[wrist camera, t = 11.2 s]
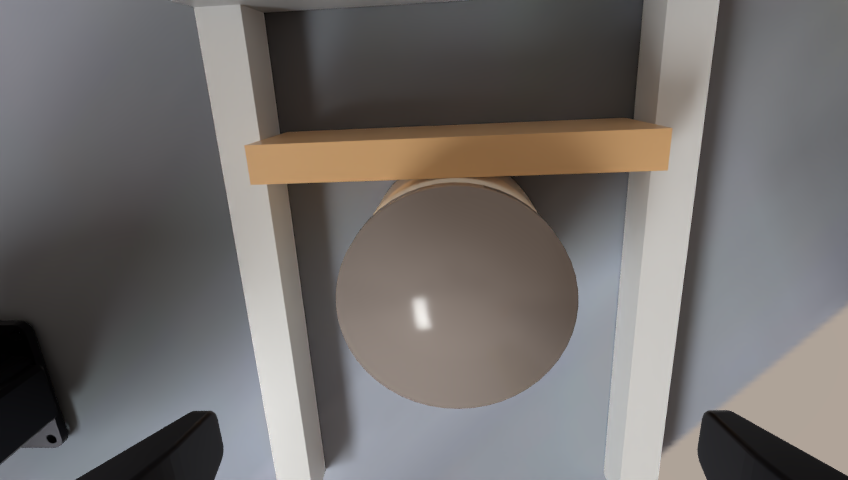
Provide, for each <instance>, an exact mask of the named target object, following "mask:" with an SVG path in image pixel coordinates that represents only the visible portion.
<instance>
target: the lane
mask: <svg viewBox="0 0 848 480" xmlns="http://www.w3.org/2000/svg"><path fill="white" fill-rule="evenodd" d="M170 1H173V2H177V3H180V4H184V5H188V6H191V7H194V12H195V17H196V23H197V29H198V34H199V40H200V46H201V51H202V57H203V63H204V68H205V74H206V80H207V86H208V91H209V97H210V103H211V108H212V114H213V120H214V125H215V131H216V137H217V142H218V148H219V154H220V159H221V165H222V171H223V177H224V182H225V188H226V194H227V199H228V205H229V211H230V216H231V222H232V228H233V233H234V239H235V245H236V250H237V256H238V262H239V268H240V273H241V279H242V285H243V290H244V296H245V302H246V307H247V313H248V319H249V324H250V330H251V336H252V341H253V347H254V353H255V359H256V364H257V370H258V376H259V381H260V387H261V393H262V398H263V404H264V410H265V415H266V421H267V427H268V432H269V438H270V444H271V449H272V455H273V461H274V467H275V472H276V478H277V480H323V477H324V474H325V471H326V468H325V460H324V453H323V446H322V438H321V431H320V423H319V416H318V409H317V401H316V394H315V387H314V379H313V372H312V365H311V357H310V350H309V342H308V335H307V328H306V320H305V313H304V306H303V298H302V291H301V283H300V276H299V269H298V261H297V254H296V247H295V239H294V232H293V224H292V217H291V210H290V202H289V195H288V188H287V184H263V185H251V184H250V178H249V172H248V165H247V159H246V153H245V147H244V145H247V144H251V143H254V142H257V141H260V140H263V139H267V138H270V137H273V136H276V135H279V134H280V129H279V121H278V114H277V106H276V99H275V92H274V84H273V77H272V70H271V62H270V55H269V47H268V40H267V33H266V25H265V18H264V13H268V12H284V11H301V10H318V9H334V8H351V7H367V6H384V5H401V4H417V3H434V2H450V1H467V0H170ZM719 2H720V0H644V3H643V14H642V26H641V38H640V50H639V61H638V73H637V85H636V97H635V109H634V120H638V121H643V122H647V123H652V124H656V125H661V126H665V127H670V128H672V138H671V147H670V156H669V165H668V171H639V172H629V179H628V191H627V203H626V215H625V226H624V238H623V250H622V262H621V273H620V285H619V297H618V309H617V321H616V332H615V344H614V356H613V368H612V379H611V391H610V403H609V415H608V427H607V438H606V450H605V462H604V474H605V477H606V480H658V475H659V467H660V460H661V452H662V444H663V437H664V429H665V421H666V413H667V406H668V398H669V390H670V382H671V375H672V367H673V359H674V351H675V344H676V336H677V328H678V320H679V312H680V305H681V297H682V289H683V281H684V274H685V266H686V258H687V250H688V243H689V235H690V227H691V219H692V212H693V204H694V196H695V188H696V181H697V173H698V165H699V157H700V150H701V142H702V134H703V126H704V118H705V111H706V103H707V95H708V87H709V80H710V72H711V64H712V56H713V49H714V41H715V33H716V25H717V18H718V10H719Z"/></svg>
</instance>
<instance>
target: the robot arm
mask: <svg viewBox="0 0 848 480" xmlns="http://www.w3.org/2000/svg"><path fill="white" fill-rule="evenodd" d="M19 332H20V333H19ZM67 438H68V432H67V429H66V426H65V423H64V420H63V417H62V414H61V411H60V408H59V405H58V402H57V399H56V396H55V393H54V390H53V386H52V383H51V380H50V377H49V374H48V371H47V368H46V365H45V362H44V359H43V356H42V353H41V350H40V347H39V344H38V341H37V338H36V335H35V332H34V330H33V328H32V326H31V325H29V324H28V323H26V322H24V321H0V465H1V464H2V463H3V462H4V461H5V460H7V459H8V458H9V457H10V456H11V455H13V454H14V453H15V452H16V451H17V450H18V449H20V448H56V447H59V446H60V445H62V444H63V443H64V442H65V441H66V440H67ZM222 457H223V442H222V437H221V433H220V428H219V423H218V419H217V416H216V414H215V413H214V412H212V411H192V412H190V413H188V414H186V415H185V416H183V417H181V418H180V419H178V420H176V421H174V422H173V423H171V424H169V425H168V426H166V427H164V428H163V429H161V430H159V431H157V432H156V433H154V434H152V435H151V436H149V437H147V438H146V439H144V440H142V441H140V442H139V443H137V444H135V445H134V446H132V447H130V448H129V449H127V450H125V451H123V452H122V453H120V454H118V455H117V456H115V457H113V458H112V459H110V460H108V461H106V462H105V463H103V464H101V465H100V466H98V467H96V468H94V469H93V470H91V471H89V472H88V473H86V474H84V475H83V476H81V477H79V478H77V479H76V480H214V479H215V476H216V474H217V471H218V468H219V466H220V463H221V460H222ZM698 458H699V461H700V464H701V466H702V469H703V471H704V474H705V476H706V479H707V480H848V476H847V475H845V474H843V473H841V472H839V471H838V470H836V469H834V468H832V467H831V466H829V465H827V464H825V463H823V462H822V461H820V460H818V459H816V458H814V457H813V456H811V455H809V454H807V453H805V452H804V451H802V450H800V449H798V448H797V447H795V446H793V445H791V444H789V443H788V442H786V441H783V440H782V439H780V438H778V437H777V436H775V435H773V434H771V433H769V432H767V431H766V430H764V429H762V428H760V427H759V426H757V425H755V424H753V423H752V422H750V421H748V420H746V419H745V418H743V417H741V416H739V415H737V414H735V413H734V412H732V411H727V410H709V411H707V412H705V413H704V415H703V418H702V423H701V429H700V437H699V443H698Z"/></svg>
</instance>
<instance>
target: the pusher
mask: <svg viewBox="0 0 848 480" xmlns="http://www.w3.org/2000/svg"><path fill="white" fill-rule="evenodd" d="M671 138H672V128H670V127H665V126H661V125H656V124H652V123H647V122H643V121H638V120H634V119H629V118H604V119H580V120H557V121H533V122H509V123H486V124H462V125H439V126H415V127H391V128H368V129H344V130H320V131H297V132H286V133H283V134H279V135H276V136H273V137H270V138H267V139H263V140H260V141H257V142H254V143H251V144H247V145H244V147H245V153H246V159H247V165H248V172H249V178H250V184H251V185H263V184H292V183H321V182H350V181H379V180H408V179H436V178H465V177H494V176H523V175H552V174H581V173H610V172H639V171H668V165H669V156H670V147H671Z"/></svg>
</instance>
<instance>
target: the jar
mask: <svg viewBox="0 0 848 480" xmlns="http://www.w3.org/2000/svg"><path fill="white" fill-rule="evenodd" d="M336 310H337V316H338V321H339V325H340V328H341V331H342V334H343V337H344V339H345V341H346V343H347V345H348V347H349V349H350V350H351V352H352V354H353V355H354V357H355V358H356V360H357V361H358V362H359V363H360V364H361V366H362V367H363V368H364V369H365V370H366V371H367V372H368V373H369V374H370V375H371V376H372V377H373V378H374V379H376V380H377V381H378V382H379V383H381V384H382V385H384V386H385V387H386V388H388V389H389V390H391V391H393V392H395V393H397V394H398V395H400V396H402V397H405V398H407V399H410V400H412V401H415V402H418V403H422V404H425V405H429V406H435V407H441V408H454V409H462V408H475V407H481V406H487V405H491V404H494V403H498V402H501V401H504V400H506V399H508V398H511V397H513V396H515V395H517V394H519V393H521V392H523V391H524V390H526V389H528V388H529V387H531V386H532V385H533V384H535V383H536V382H537V381H539V380H540V379H541V378H542V377H543V376H544V375H545V374H546V373H547V372H548V371H549V370H550V369H551V368H552V367H553V366H554V364H555V363H556V362H557V361H558V360H559V358H560V357H561V355H562V353H563V352H564V350H565V348H566V347H567V345H568V342H569V340H570V338H571V336H572V333H573V330H574V326H575V323H576V319H577V311H578V287H577V281H576V275H575V272H574V269H573V266H572V263H571V260H570V258H569V256H568V254H567V252H566V250H565V248H564V246H563V245H562V243H561V242H560V240H559V239H558V237H557V236H556V234H555V233H554V231H553V230H552V229H551V227H550V226H549V225H548V223H547V222H546V221H545V220H544V219H543V218H542V217H541V216H540V215H539V214H538V212H537V211H536V209H535V207H534V206H533V204H532V203H531V201H530V200H529V198H528V196H527V195H526V194H525V192H524V191H523V189H522V188H521V187H520V186H519V185H518V184H517V183H516V181H515V180H513V179H512V178H511V177H510V176H494V177H465V178H436V179H408V180H397V181H396V182H395V183H394V184H393V185H392V186H391V188H390V189H389V190H388V191H387V193H386V194H385V196H384V197H383V199H382V201H381V202H380V204H379V206H378V207H377V209H376V211H375V212H374V214H373V216H372V217H371V218H370V219H368V221H367V222H366V223H365V224H364V226H363V227H362V228H361V229H360V231H359V232H358V234H357V235H356V237H355V239H354V240H353V242H352V244H351V245H350V247H349V249H348V250H347V252H346V254H345V257H344V259H343V262H342V264H341V267H340V271H339V275H338V279H337V286H336Z"/></svg>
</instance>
